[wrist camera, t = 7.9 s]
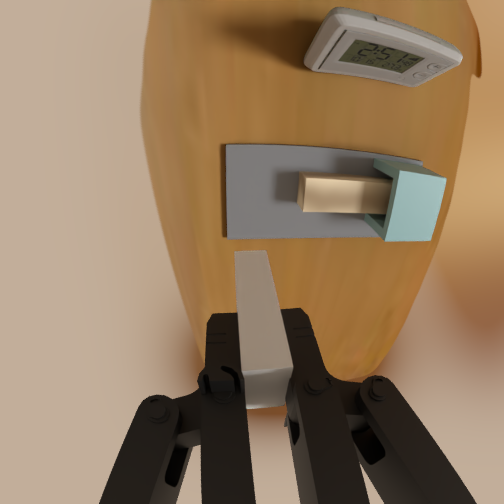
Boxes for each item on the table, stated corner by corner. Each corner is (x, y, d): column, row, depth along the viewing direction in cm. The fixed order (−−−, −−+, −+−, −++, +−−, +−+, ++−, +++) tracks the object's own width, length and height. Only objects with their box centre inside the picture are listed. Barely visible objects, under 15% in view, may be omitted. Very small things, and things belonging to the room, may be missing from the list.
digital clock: (294, 68, 25) (326, 52, 16) (305, 6, 20) (337, -28, 11) (408, 106, 27) (463, 117, 18) (416, 51, 23) (470, 47, 14)
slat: (299, 171, 31) (306, 178, 28) (396, 179, 32) (408, 186, 29) (296, 202, 33) (302, 211, 30) (390, 206, 34) (402, 214, 31)
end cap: (374, 158, 30) (400, 170, 25) (419, 165, 31) (446, 178, 26) (364, 220, 35) (384, 241, 30) (407, 221, 35) (430, 240, 30)
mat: (225, 144, 29) (225, 144, 28) (420, 160, 31) (422, 161, 31) (227, 237, 35) (227, 239, 35) (404, 235, 37) (406, 236, 37)
